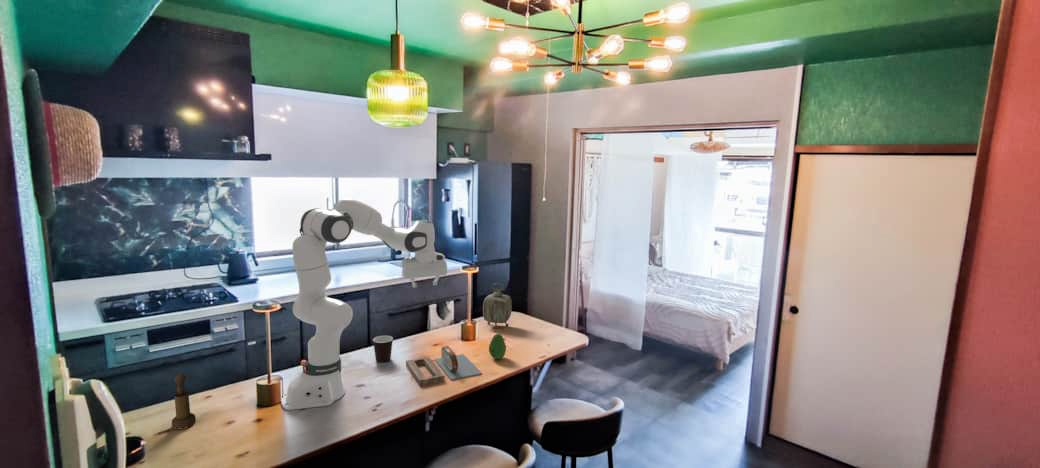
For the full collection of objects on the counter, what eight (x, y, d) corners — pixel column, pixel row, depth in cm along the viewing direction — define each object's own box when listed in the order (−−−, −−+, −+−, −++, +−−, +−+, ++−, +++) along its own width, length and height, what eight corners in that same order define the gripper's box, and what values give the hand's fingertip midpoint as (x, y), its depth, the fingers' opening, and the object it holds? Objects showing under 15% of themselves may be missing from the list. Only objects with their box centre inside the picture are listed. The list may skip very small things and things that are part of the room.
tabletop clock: (511, 326, 267) (512, 282, 263) (507, 331, 258) (508, 286, 254) (486, 323, 270) (487, 280, 266) (481, 328, 262) (482, 284, 258)
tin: (458, 373, 205) (458, 355, 204) (451, 375, 204) (451, 356, 202) (446, 360, 218) (446, 342, 217) (440, 361, 217) (440, 343, 215)
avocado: (503, 354, 228) (503, 330, 226) (507, 361, 221) (508, 336, 219) (486, 356, 226) (487, 331, 224) (491, 363, 218) (491, 338, 216)
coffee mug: (387, 365, 213) (387, 343, 211) (369, 362, 215) (369, 341, 213) (399, 354, 224) (399, 334, 223) (382, 352, 226) (381, 332, 224)
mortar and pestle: (169, 431, 158) (165, 380, 156) (174, 421, 164) (170, 372, 161) (193, 427, 161) (189, 377, 158) (197, 417, 167) (193, 369, 164)
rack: (419, 386, 194) (419, 380, 194) (406, 365, 213) (406, 360, 212) (444, 381, 199) (444, 375, 199) (429, 361, 218) (429, 356, 217)
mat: (451, 380, 200) (451, 379, 200) (434, 360, 219) (434, 359, 219) (481, 374, 207) (481, 373, 207) (463, 355, 226) (463, 354, 226)
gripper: (403, 259, 207) (403, 290, 209) (448, 256, 217) (448, 285, 219) (399, 256, 213) (400, 286, 215) (443, 253, 222) (443, 282, 224)
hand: (424, 286), depth 217 cm, fingers open, 8 cm apart
